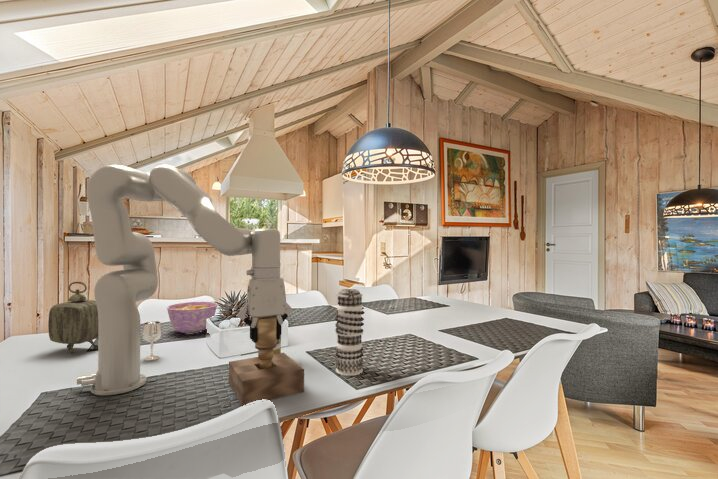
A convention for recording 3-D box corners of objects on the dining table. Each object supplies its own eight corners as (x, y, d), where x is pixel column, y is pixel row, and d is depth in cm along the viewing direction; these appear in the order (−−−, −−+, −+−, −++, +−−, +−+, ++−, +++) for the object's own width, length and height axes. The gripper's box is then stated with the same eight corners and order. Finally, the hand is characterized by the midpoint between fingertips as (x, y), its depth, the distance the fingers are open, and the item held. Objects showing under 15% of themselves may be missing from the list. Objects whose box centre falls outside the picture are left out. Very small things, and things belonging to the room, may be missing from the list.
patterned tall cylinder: (369, 368, 110) (370, 289, 110) (354, 378, 102) (354, 292, 102) (345, 363, 115) (345, 287, 115) (328, 372, 107) (329, 290, 107)
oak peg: (258, 373, 92) (258, 320, 92) (252, 367, 97) (252, 316, 97) (279, 369, 95) (279, 318, 95) (272, 363, 100) (272, 314, 100)
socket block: (242, 406, 85) (242, 381, 85) (228, 383, 98) (228, 361, 99) (304, 391, 93) (304, 369, 93) (283, 372, 107) (283, 352, 107)
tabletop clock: (105, 348, 129) (105, 280, 129) (83, 356, 120) (84, 283, 120) (69, 347, 131) (69, 280, 131) (45, 354, 122) (45, 282, 122)
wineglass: (139, 358, 119) (140, 322, 119) (158, 354, 123) (159, 320, 123) (144, 362, 115) (144, 325, 115) (163, 358, 119) (164, 322, 119)
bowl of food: (208, 324, 167) (209, 300, 168) (223, 332, 152) (223, 306, 152) (161, 331, 155) (162, 304, 155) (172, 341, 139) (172, 312, 139)
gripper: (236, 276, 88) (236, 348, 88) (300, 273, 97) (300, 338, 97) (230, 274, 95) (230, 341, 95) (291, 271, 104) (290, 332, 104)
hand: (265, 339), depth 96 cm, fingers closed on oak peg, 5 cm apart
